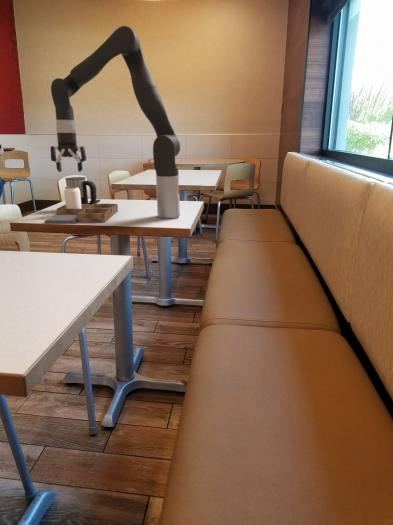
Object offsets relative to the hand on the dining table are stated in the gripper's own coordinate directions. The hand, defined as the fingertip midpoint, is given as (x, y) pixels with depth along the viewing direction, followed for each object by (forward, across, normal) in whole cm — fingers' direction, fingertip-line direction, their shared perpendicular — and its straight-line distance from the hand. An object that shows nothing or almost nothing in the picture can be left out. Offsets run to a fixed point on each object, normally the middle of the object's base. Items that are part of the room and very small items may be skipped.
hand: (69, 171), depth 173 cm
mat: (+18, 0, +12) cm, 22 cm away
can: (+19, 0, 0) cm, 19 cm away
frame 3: (+18, -12, -2) cm, 22 cm away
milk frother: (+19, 0, -15) cm, 24 cm away
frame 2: (+18, -12, +10) cm, 24 cm away
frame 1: (+18, 0, 0) cm, 19 cm away
